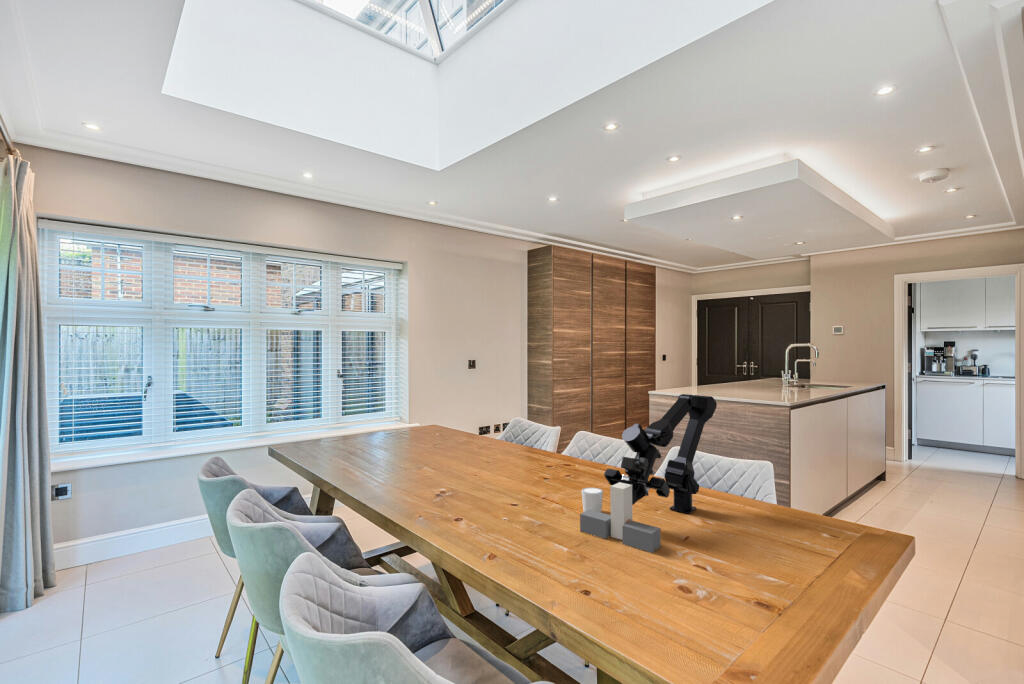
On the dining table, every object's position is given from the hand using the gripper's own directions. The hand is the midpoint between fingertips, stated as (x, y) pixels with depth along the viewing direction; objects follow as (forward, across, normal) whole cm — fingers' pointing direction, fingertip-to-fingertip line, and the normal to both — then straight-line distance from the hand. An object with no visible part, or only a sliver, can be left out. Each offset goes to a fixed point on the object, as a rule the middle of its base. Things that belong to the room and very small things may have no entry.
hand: (626, 507), depth 136 cm
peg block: (+7, 0, +3) cm, 8 cm away
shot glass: (-1, -17, +12) cm, 21 cm away
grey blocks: (+8, 0, +2) cm, 9 cm away
